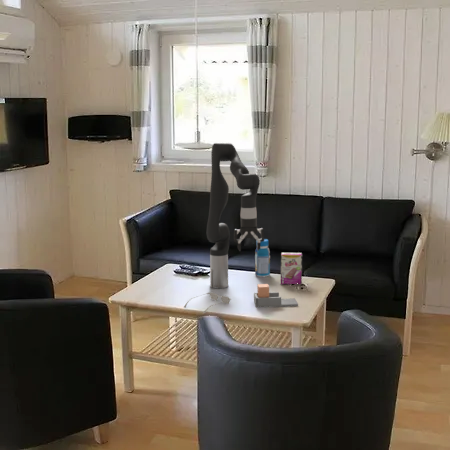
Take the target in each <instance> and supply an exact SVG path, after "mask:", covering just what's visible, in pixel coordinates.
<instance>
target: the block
mask: <svg viewBox="0 0 450 450" xmlns="http://www.w3.org/2000/svg"><path fill="white" fill-rule="evenodd" d="M256 287H257V291H256V293H258V298H262V297H269V292H270V285H269V284H268V283H258V284H257V286H256Z"/></svg>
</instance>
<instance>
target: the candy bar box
mask: <svg viewBox="0 0 450 450" xmlns="http://www.w3.org/2000/svg"><path fill="white" fill-rule="evenodd" d="M302 275H303V253H302V252H281V253H280V285H290V284H297V283H298V284H301V285H302V283H303V281H302V278H303V277H302Z"/></svg>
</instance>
